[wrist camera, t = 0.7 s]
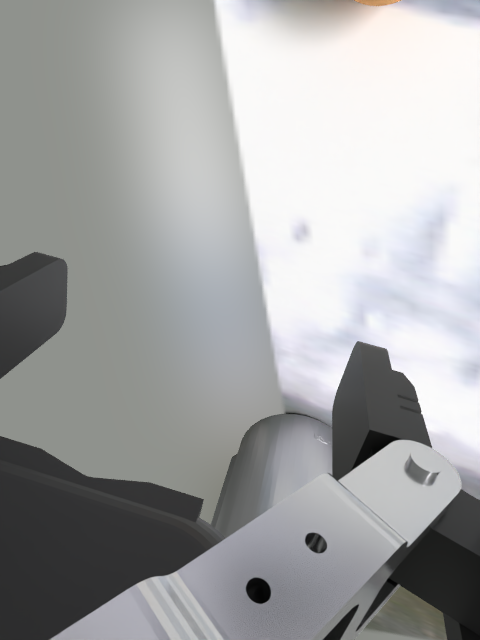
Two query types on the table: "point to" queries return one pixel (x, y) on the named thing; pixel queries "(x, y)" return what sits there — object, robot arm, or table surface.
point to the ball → (377, 2)
